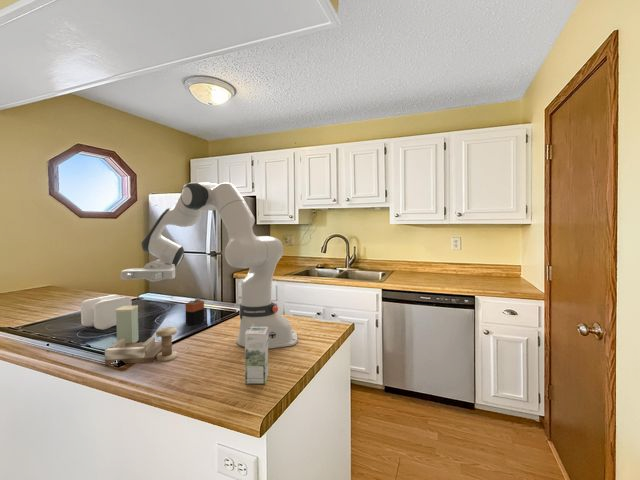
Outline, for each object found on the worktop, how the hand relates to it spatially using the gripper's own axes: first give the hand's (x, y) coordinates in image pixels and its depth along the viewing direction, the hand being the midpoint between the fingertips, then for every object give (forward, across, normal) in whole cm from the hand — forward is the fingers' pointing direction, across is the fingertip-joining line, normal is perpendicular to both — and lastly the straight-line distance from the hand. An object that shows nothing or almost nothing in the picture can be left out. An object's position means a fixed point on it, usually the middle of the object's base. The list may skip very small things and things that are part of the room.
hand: (140, 277), depth 122 cm
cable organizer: (-10, -18, +22) cm, 30 cm away
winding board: (+23, +8, +22) cm, 32 cm away
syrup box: (+44, +48, +22) cm, 69 cm away
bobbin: (+26, +18, +22) cm, 39 cm away
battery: (-9, +18, +22) cm, 30 cm away
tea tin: (+12, 0, +22) cm, 25 cm away
